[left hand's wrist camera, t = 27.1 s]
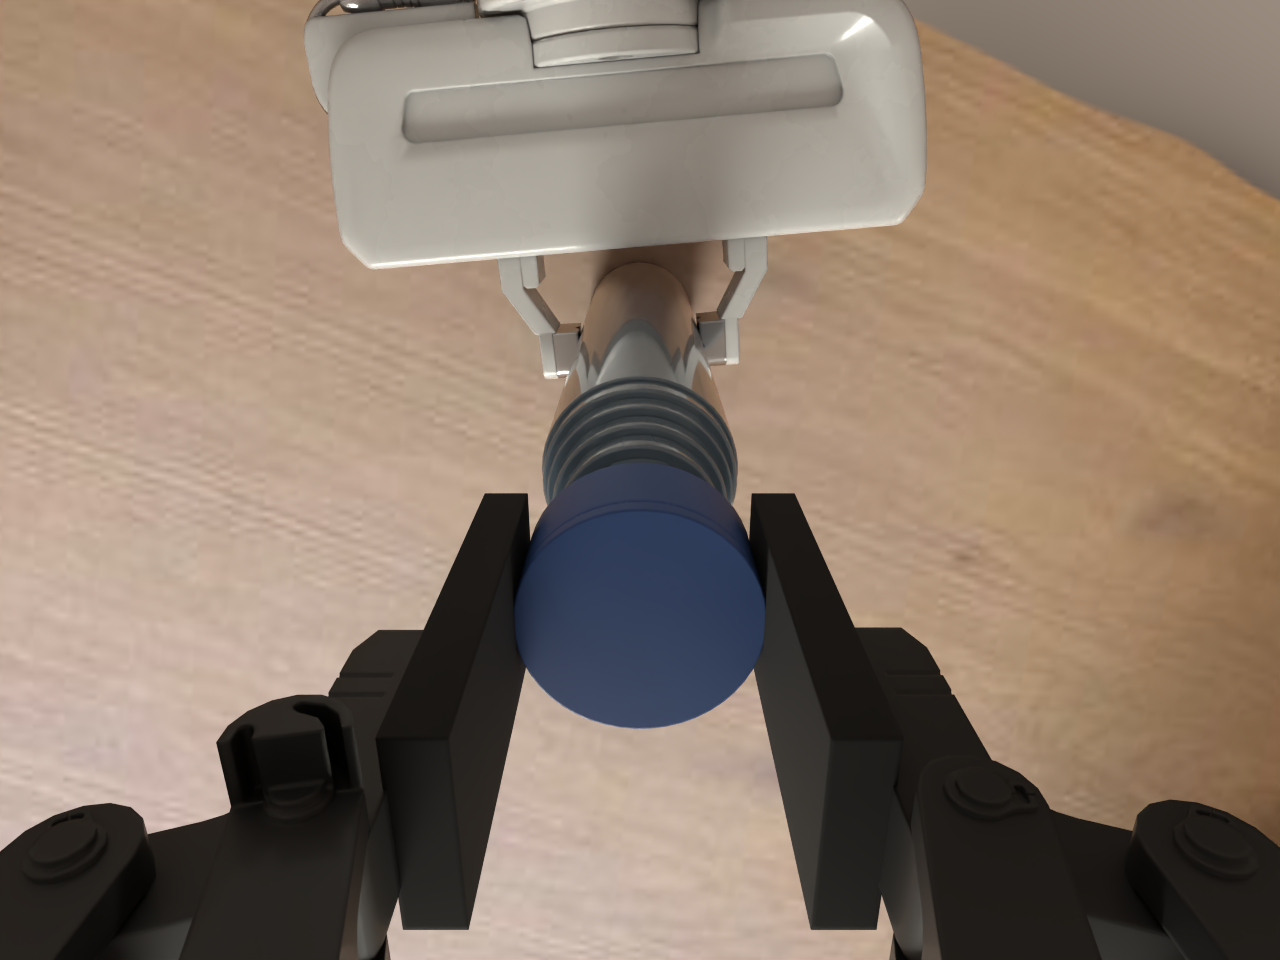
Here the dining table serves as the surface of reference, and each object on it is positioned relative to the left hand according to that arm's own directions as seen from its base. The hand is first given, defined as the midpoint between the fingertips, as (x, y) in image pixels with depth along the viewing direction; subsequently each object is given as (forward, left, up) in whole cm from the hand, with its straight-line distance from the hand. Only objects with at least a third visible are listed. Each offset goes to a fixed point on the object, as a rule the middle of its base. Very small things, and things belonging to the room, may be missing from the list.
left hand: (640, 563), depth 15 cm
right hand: (-1, +1, -18) cm, 18 cm away
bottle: (0, 0, -24) cm, 24 cm away
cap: (0, 0, +2) cm, 2 cm away
